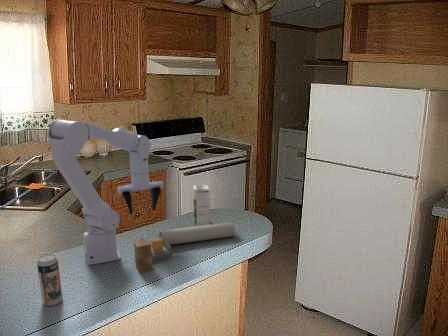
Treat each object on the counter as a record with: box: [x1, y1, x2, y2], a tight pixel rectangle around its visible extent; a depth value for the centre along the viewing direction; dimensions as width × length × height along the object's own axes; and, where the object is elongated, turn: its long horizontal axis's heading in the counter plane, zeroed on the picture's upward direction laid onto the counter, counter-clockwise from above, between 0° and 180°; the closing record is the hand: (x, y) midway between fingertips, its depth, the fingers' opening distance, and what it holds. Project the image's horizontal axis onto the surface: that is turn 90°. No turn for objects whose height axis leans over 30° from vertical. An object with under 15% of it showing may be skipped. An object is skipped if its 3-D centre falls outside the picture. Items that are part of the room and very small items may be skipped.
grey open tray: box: [140, 232, 174, 263], centre depth 132 cm, size 12×7×4 cm, turn 24°
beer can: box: [36, 253, 64, 307], centre depth 105 cm, size 5×5×12 cm
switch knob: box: [152, 238, 163, 251], centre depth 130 cm, size 2×3×3 cm, turn 114°
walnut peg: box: [133, 238, 154, 274], centre depth 121 cm, size 4×4×8 cm
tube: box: [159, 221, 236, 246], centre depth 140 cm, size 5×5×25 cm
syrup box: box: [192, 184, 211, 227], centre depth 152 cm, size 6×6×14 cm
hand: (142, 211), depth 140 cm, fingers open, 7 cm apart
